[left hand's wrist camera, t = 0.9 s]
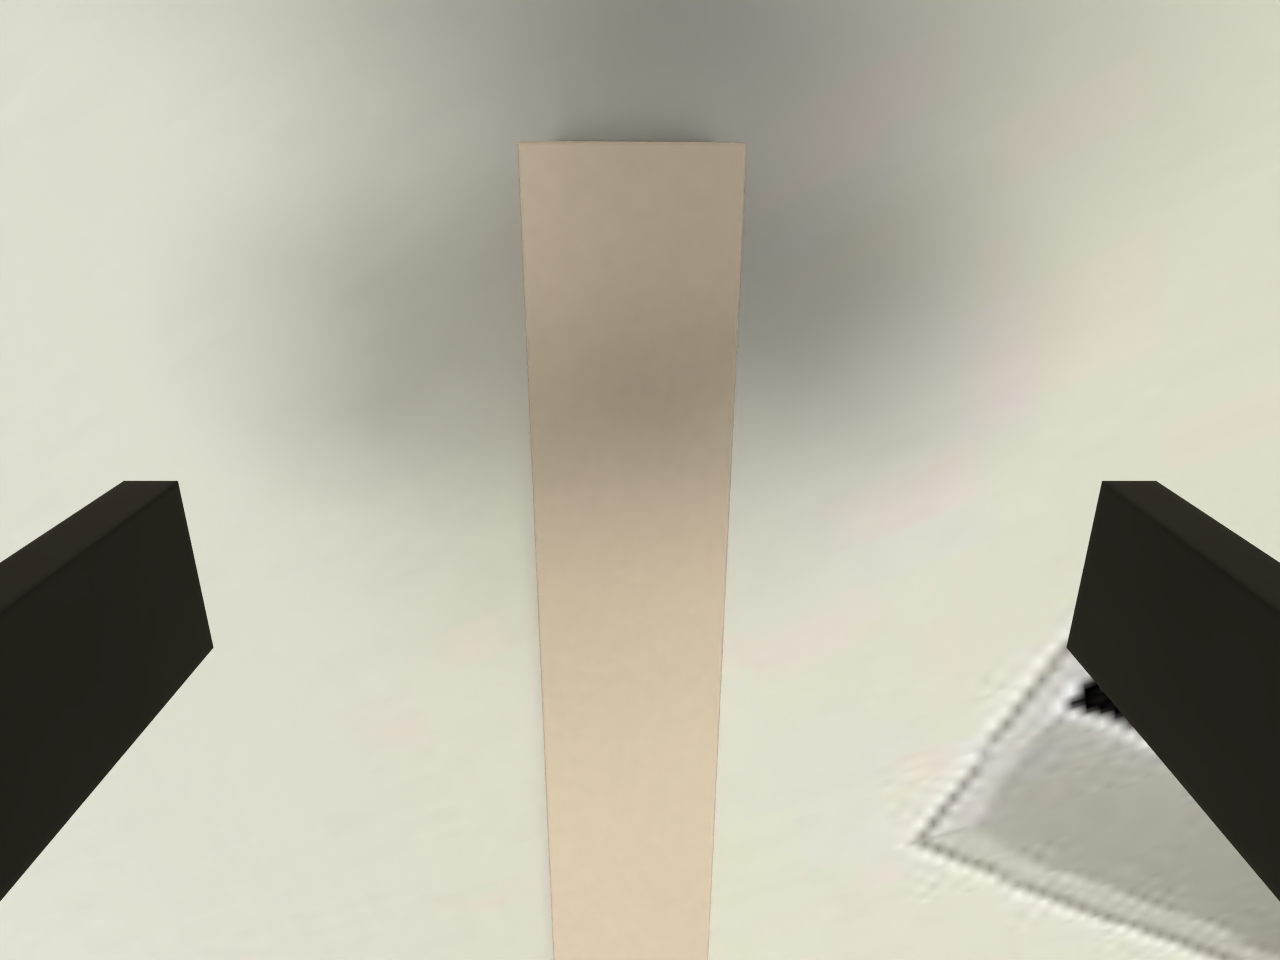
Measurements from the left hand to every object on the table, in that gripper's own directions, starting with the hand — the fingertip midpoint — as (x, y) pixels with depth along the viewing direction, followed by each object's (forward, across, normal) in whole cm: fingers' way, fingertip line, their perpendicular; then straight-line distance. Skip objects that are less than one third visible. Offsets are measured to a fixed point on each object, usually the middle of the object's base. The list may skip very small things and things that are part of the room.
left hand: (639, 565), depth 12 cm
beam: (+16, 0, -20) cm, 25 cm away
